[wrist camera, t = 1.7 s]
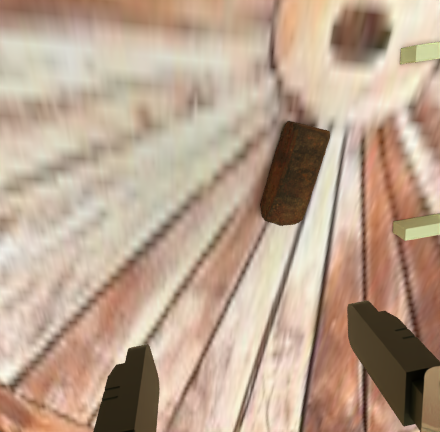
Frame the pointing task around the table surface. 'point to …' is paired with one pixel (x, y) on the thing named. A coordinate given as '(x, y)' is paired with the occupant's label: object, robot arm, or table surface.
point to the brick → (293, 173)
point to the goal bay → (430, 223)
